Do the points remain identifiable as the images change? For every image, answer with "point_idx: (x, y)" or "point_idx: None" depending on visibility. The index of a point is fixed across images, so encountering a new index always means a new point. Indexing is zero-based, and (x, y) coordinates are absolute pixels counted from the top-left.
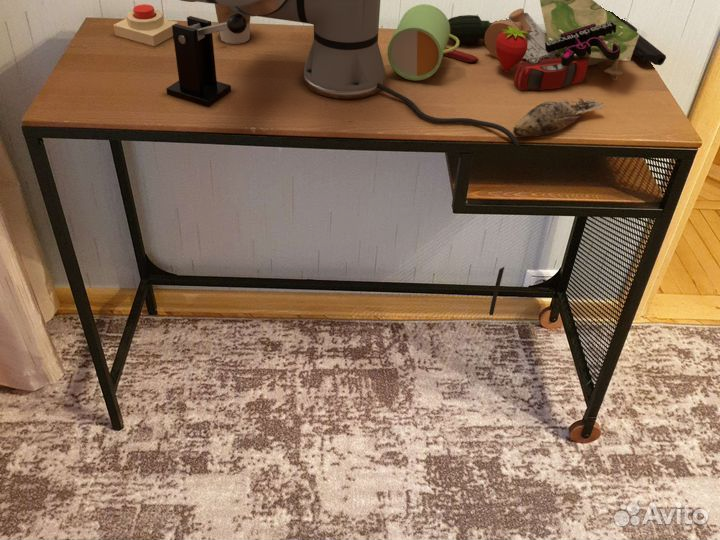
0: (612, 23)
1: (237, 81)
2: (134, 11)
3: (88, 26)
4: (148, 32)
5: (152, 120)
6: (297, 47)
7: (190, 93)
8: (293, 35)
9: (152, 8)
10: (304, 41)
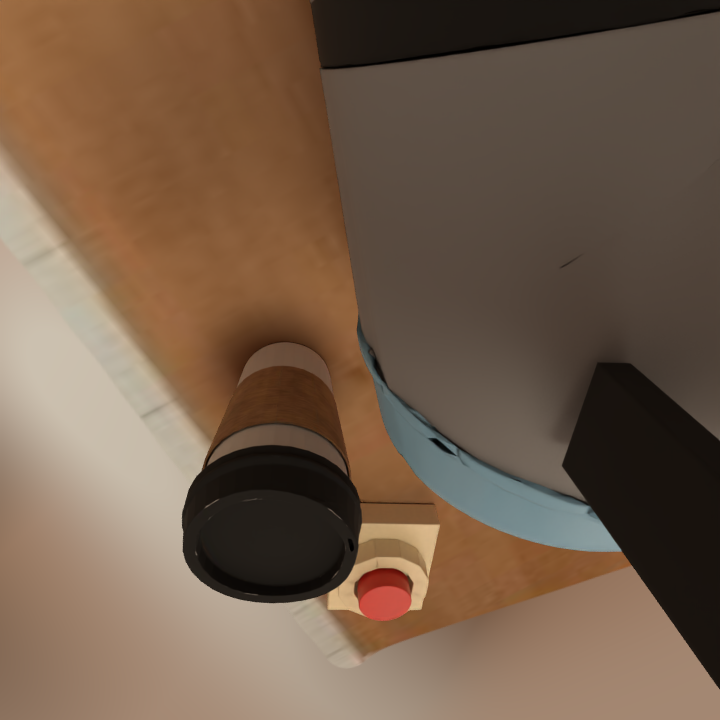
0: None
1: None
2: (407, 608)
3: (400, 640)
4: (426, 541)
5: None
6: (238, 179)
7: None
8: (159, 238)
9: (376, 590)
10: (178, 179)
